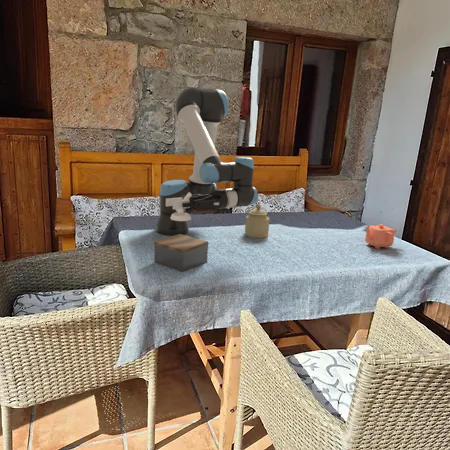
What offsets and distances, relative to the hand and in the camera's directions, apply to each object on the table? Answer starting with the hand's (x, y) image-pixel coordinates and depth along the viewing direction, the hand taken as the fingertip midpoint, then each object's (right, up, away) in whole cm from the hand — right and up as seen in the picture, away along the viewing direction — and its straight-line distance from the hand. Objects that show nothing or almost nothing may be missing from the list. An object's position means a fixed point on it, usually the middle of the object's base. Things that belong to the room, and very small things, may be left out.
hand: (169, 204), depth 149 cm
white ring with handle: (+3, -5, +5) cm, 8 cm away
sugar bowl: (+33, -12, +51) cm, 62 cm away
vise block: (+3, -21, +9) cm, 23 cm away
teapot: (+89, -17, +41) cm, 99 cm away
